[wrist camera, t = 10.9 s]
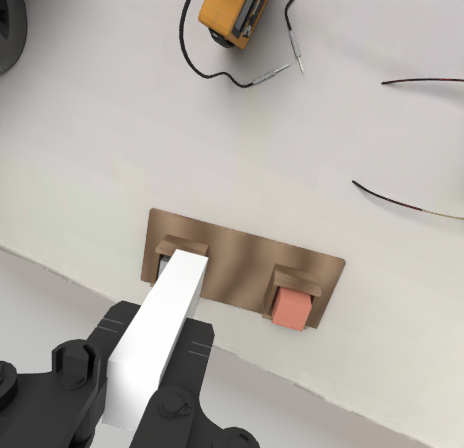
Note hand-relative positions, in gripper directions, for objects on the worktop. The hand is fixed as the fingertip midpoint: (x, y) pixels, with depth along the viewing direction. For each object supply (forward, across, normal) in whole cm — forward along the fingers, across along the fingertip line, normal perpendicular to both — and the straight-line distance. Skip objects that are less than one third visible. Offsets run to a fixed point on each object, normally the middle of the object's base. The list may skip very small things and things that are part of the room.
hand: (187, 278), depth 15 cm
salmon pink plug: (+27, +11, -17) cm, 34 cm away
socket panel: (+29, +3, -17) cm, 34 cm away
